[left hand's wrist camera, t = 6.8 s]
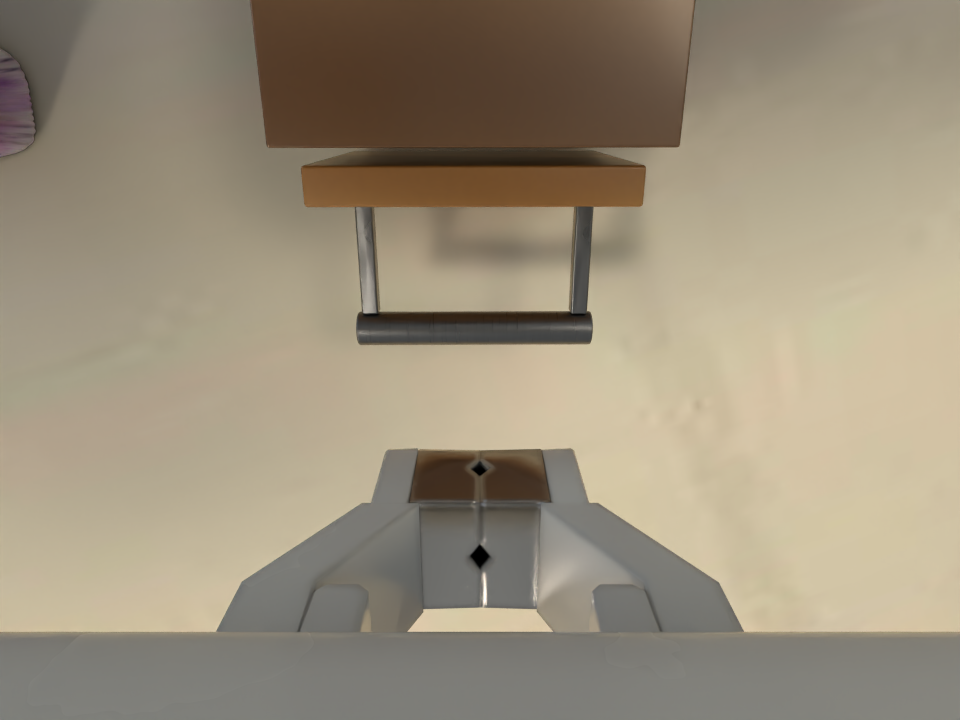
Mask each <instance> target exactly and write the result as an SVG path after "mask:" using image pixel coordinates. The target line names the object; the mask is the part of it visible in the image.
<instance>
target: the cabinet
mask: <svg viewBox="0 0 960 720" xmlns="http://www.w3.org/2000/svg"><path fill="white" fill-rule="evenodd" d="M250 6H251V15H252V23H253V32H254V40H255V49H256V58H257V66H258V75H259V83H260V92H261V101H262V109H263V118H264V126H265V135H266V144H267V147H269V148H548V147H679V145H680V138H681V129H682V120H683V110H684V101H685V92H686V82H687V73H688V64H689V54H690V45H691V36H692V27H693V17H694V8H695V0H250Z"/></svg>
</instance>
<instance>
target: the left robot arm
mask: <svg viewBox="0 0 960 720" xmlns="http://www.w3.org/2000/svg"><path fill="white" fill-rule="evenodd" d="M478 607H480V608H516V609H537V612H538V614H539V615H540V616H541V617H542V618H543V620H544V621H545V622H546V623H547V625H548V626H549V627H550V628H551V629H552V631H553V632H407V631H408V630H409V629H410V628H411V626H412V625H413V624H414V623H415V621H416V620H417V619H418V618H419V617H420V615H421V614H422V613H423V609H443V608H478ZM0 720H960V632H744V631H743V629H742V627H741V625H740V623H739V621H738V619H737V617H736V615H735V613H734V611H733V609H732V607H731V605H730V603H729V601H728V599H727V598H726V596H725V594H724V592H723V590H722V588H721V586H720V584H719V582H717V581H716V580H714V579H713V578H711V577H710V576H708V575H707V574H705V573H703V572H702V571H700V570H699V569H697V568H696V567H694V566H693V565H691V564H690V563H688V562H687V561H685V560H684V559H682V558H681V557H679V556H678V555H676V554H675V553H673V552H672V551H670V550H668V549H667V548H665V547H664V546H662V545H661V544H659V543H658V542H656V541H655V540H653V539H652V538H650V537H649V536H647V535H646V534H644V533H643V532H641V531H640V530H638V529H637V528H635V527H634V526H632V525H630V524H629V523H627V522H626V521H624V520H623V519H621V518H620V517H618V516H617V515H615V514H614V513H612V512H611V511H609V510H608V509H606V508H605V507H603V506H602V505H600V504H599V503H589V501H588V497H587V494H586V490H585V487H584V484H583V480H582V477H581V473H580V470H579V466H578V463H577V459H576V456H575V452H574V450H572V449H571V448H568V449H546V450H541V449H523V450H481V451H480V450H437V449H420V450H418V449H417V448H416V449H388V450H387V451H386V452H385V455H384V459H383V462H382V466H381V469H380V473H379V476H378V480H377V483H376V487H375V490H374V494H373V497H372V501H371V503H361V504H360V505H358V506H357V507H355V508H354V509H352V510H351V511H349V512H348V513H346V514H345V515H343V516H342V517H340V518H339V519H337V520H336V521H334V522H332V523H331V524H329V525H328V526H326V527H325V528H323V529H322V530H320V531H319V532H317V533H316V534H314V535H313V536H311V537H310V538H308V539H306V540H305V541H303V542H302V543H300V544H299V545H297V546H296V547H294V548H293V549H291V550H290V551H288V552H287V553H285V554H284V555H282V556H281V557H279V558H277V559H276V560H274V561H273V562H271V563H270V564H268V565H267V566H265V567H264V568H262V569H261V570H259V571H258V572H256V573H255V574H253V575H251V576H250V577H248V578H247V579H245V580H244V581H242V583H241V585H240V586H239V588H238V590H237V592H236V594H235V596H234V598H233V600H232V602H231V604H230V606H229V608H228V610H227V612H226V613H225V615H224V617H223V619H222V621H221V623H220V625H219V627H218V629H217V631H216V632H0Z"/></svg>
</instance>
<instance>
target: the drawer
mask: <svg viewBox="0 0 960 720" xmlns="http://www.w3.org/2000/svg"><path fill="white" fill-rule="evenodd" d="M301 174H302V184H303V194H304V204H305V206H306V207H355V217H356V231H357V246H358V260H359V274H360V288H361V302H362V312H359V313H358V316H357V323H356V332H357V340H358V343H359V344H360V345H481V344H590V343H591V340H592V332H593V322H592V315H591V313H590V312H589V311H587V301H588V285H589V269H590V253H591V237H592V221H593V207H640V206H642V204H643V197H644V186H645V175H646V166H644V165H641V164H638V163H634V162H631V161H627V160H624V159H620V158H617V157H613V156H610V155H606V154H603V153H600V152H596V151H353V152H349V153H346V154H342V155H339V156H335V157H332V158H328V159H325V160H321V161H318V162H314V163H311V164H307V165H304V166H302V167H301ZM374 207H574V218H573V237H572V256H571V275H570V295H569V310H570V311H514V312H379V311H380V297H379V280H378V264H377V247H376V230H375V214H374Z"/></svg>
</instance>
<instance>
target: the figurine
mask: <svg viewBox="0 0 960 720" xmlns="http://www.w3.org/2000/svg"><path fill="white" fill-rule="evenodd" d="M29 92H30V91H29V89H28V83H27V81H26V79H25V74H24V72H23V71H22V70H21V68H20V65H19V63H18V62H17V61H16V60H15V59H14V58H13V57H12V56H11V55H10V54H9V53H7V52H5V51H3V50H2V49H0V157H2V156H6V155H10V154H15V153H17V152H20V151H22V150H24V149H26V148H27V147H28V146H29V145H31V144H32V143H33V141H34V133H35V132H36V130H35V129H34V127H35V123H34V122H33V120H34V117H33V115H32V113H33V110H32V109H31V106H32V104H31V102H30V99H31V97H30V95H29Z"/></svg>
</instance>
